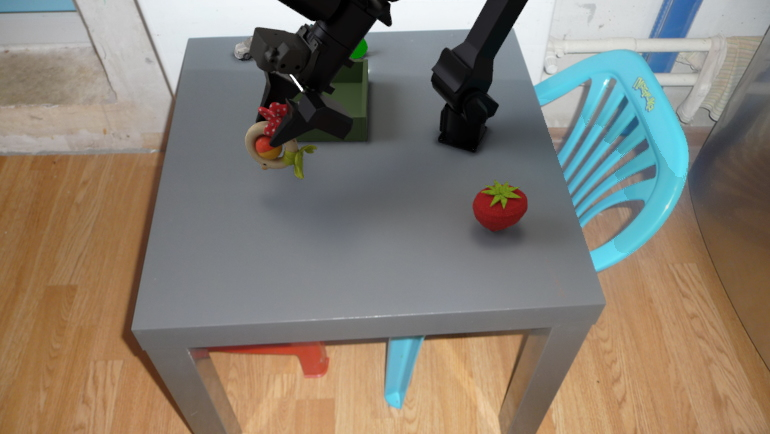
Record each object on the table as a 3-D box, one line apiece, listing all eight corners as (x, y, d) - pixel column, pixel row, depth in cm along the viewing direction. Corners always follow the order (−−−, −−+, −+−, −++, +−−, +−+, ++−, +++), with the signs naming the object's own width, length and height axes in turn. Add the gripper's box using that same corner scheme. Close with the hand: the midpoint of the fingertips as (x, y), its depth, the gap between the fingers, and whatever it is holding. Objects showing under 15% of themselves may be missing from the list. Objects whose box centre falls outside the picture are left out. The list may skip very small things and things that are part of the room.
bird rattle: (264, 195, 81) (321, 180, 78) (216, 137, 73) (277, 119, 70) (274, 163, 85) (329, 148, 82) (229, 106, 77) (287, 87, 74)
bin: (368, 82, 105) (367, 58, 102) (366, 141, 95) (366, 117, 91) (281, 82, 105) (277, 59, 102) (270, 141, 95) (266, 117, 91)
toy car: (232, 52, 111) (229, 38, 109) (271, 41, 114) (269, 27, 112) (238, 62, 109) (235, 48, 107) (278, 50, 112) (276, 37, 110)
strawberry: (527, 243, 81) (541, 194, 74) (474, 250, 81) (483, 201, 73) (513, 211, 85) (526, 161, 78) (463, 218, 84) (470, 168, 77)
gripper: (255, -31, 70) (189, 73, 75) (319, 47, 59) (237, 162, 64) (321, 11, 78) (258, 103, 83) (388, 86, 68) (311, 186, 73)
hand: (265, 135), depth 76 cm, fingers closed on bird rattle, 4 cm apart
